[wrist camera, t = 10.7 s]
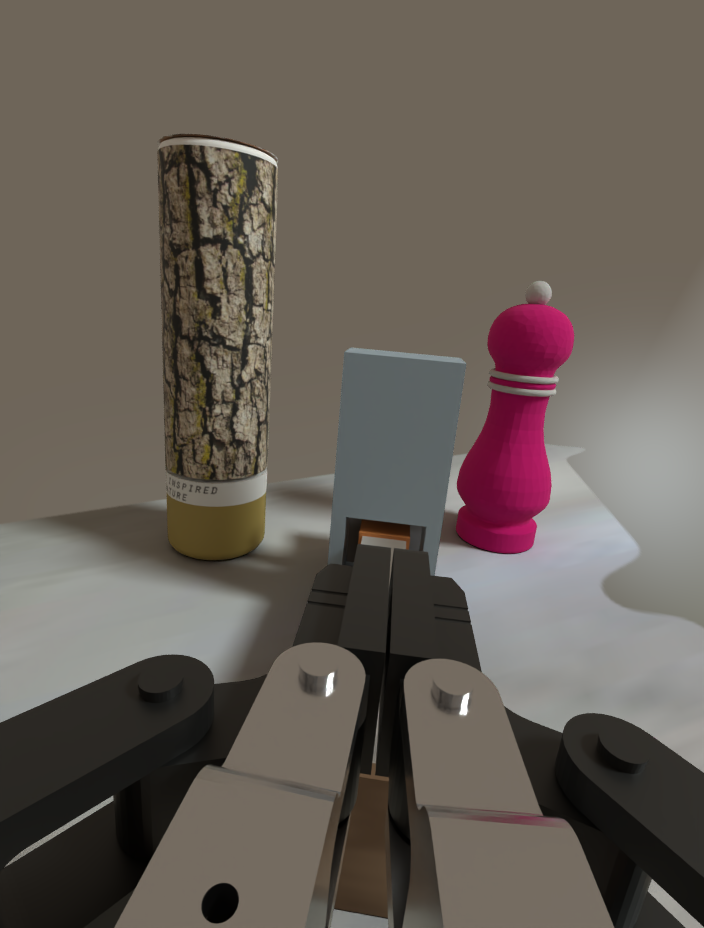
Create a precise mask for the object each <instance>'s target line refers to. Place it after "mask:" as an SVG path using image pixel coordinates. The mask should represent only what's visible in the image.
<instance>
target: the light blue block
mask: <svg viewBox="0 0 704 928" xmlns="http://www.w3.org/2000/svg"><path fill="white" fill-rule="evenodd" d="M465 369H466V363H465V362H464V361H463V360H462V359H461V358H454V357H444V356H433V355H423V354H412V353H402V352H391V351H381V350H371V349H360V348H350V349H348V350H347V351H345V353H344V365H343V377H342V389H341V402H340V415H339V428H338V440H337V441H338V442H337V453H336V466H335V478H334V491H333V504H332V516H331V529H330V542H329V554H328V565H329V564H330V563H331V564H339V565H348V566H353V565H354V562H346V557H347V546H348V535H349V524H350V518H358V519H366V520H375V521H383V522H391V523H400V524H408V525H416V526H422V532H421V539H420V547H419V551H424V552H428V555H429V565H430V575H431V576H435V569H436V563H437V556H438V549H439V543H440V536H441V529H442V523H443V516H444V509H445V503H446V496H447V489H448V483H449V476H450V469H451V463H452V456H453V449H454V443H455V436H456V429H457V422H458V416H459V409H460V403H461V396H462V389H463V383H464V376H465Z"/></svg>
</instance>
